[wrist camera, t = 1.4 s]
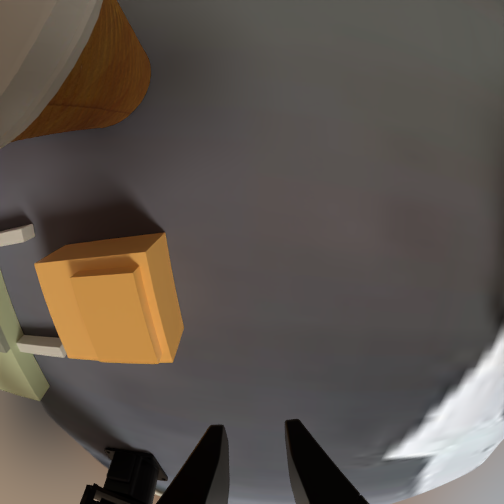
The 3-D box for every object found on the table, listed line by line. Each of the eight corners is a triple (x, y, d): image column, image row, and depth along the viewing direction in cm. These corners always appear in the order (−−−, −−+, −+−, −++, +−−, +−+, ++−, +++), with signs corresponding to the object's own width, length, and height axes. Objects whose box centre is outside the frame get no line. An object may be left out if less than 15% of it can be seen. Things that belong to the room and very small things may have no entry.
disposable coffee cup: (49, 55, 13) (-66, 18, 2) (166, 3, 13) (100, -109, 2) (61, 170, 16) (-80, 202, 5) (188, 127, 16) (87, 78, 5)
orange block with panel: (183, 327, 20) (169, 373, 15) (90, 329, 20) (62, 366, 15) (165, 232, 18) (139, 258, 13) (65, 244, 18) (25, 269, 13)
